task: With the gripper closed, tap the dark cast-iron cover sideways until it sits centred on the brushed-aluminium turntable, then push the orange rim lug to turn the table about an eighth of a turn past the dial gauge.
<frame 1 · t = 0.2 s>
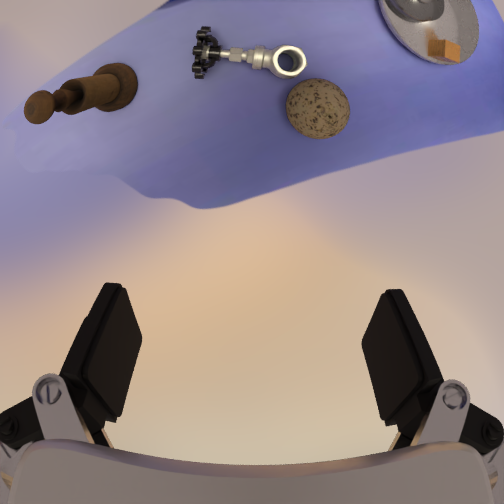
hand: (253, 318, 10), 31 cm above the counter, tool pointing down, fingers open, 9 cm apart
decorative egg: (310, 104, 33), on the counter
turntable: (441, 9, 20), point 4 cm above the counter, hinge at 0.0°, touching cover
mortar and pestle: (116, 86, 31), on the counter
valve: (251, 58, 30), on the counter
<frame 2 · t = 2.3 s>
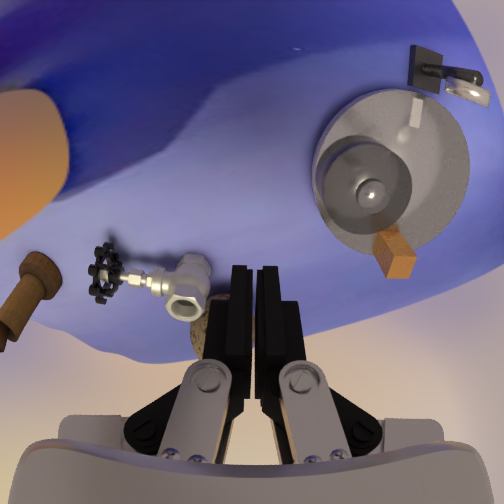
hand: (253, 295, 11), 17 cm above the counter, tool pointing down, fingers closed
decorative egg: (225, 300, 35), on the counter
turntable: (408, 187, 22), point 4 cm above the counter, hinge at 0.0°, touching cover
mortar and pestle: (44, 270, 33), on the counter
cover: (356, 175, 22), point 3 cm above the counter, touching turntable
valve: (160, 260, 32), on the counter
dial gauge: (422, 69, 19), on the counter
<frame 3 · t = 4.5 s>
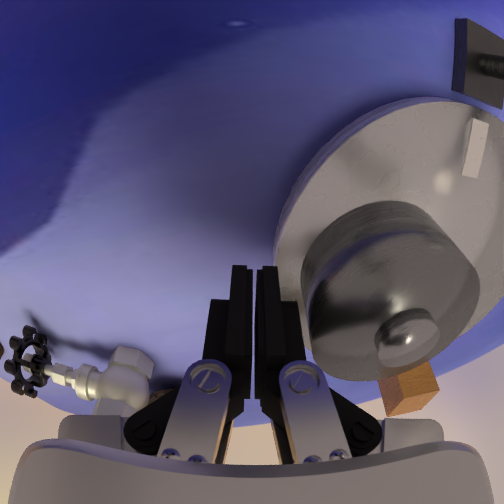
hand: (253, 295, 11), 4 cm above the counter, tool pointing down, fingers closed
turntable: (446, 287, 11), point 4 cm above the counter, hinge at 0.0°, touching cover
cover: (376, 271, 12), point 3 cm above the counter, touching gripper, turntable
valve: (92, 347, 22), on the counter
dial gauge: (475, 63, 9), on the counter
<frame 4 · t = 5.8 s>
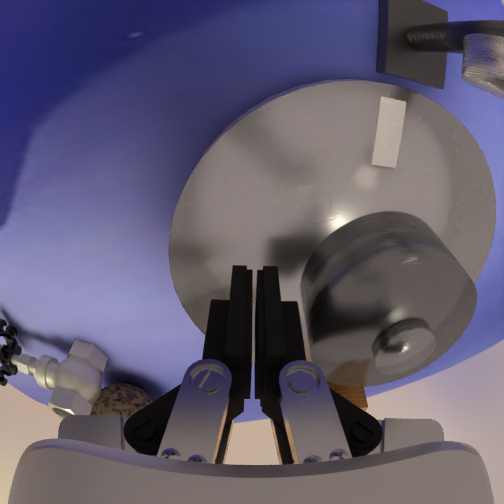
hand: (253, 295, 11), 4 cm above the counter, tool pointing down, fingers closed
decorative egg: (132, 385, 25), on the counter
turntable: (364, 294, 11), point 4 cm above the counter, hinge at 0.2°, touching cover
cover: (375, 279, 13), point 3 cm above the counter, touching turntable
valve: (55, 340, 21), on the counter
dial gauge: (408, 39, 9), on the counter
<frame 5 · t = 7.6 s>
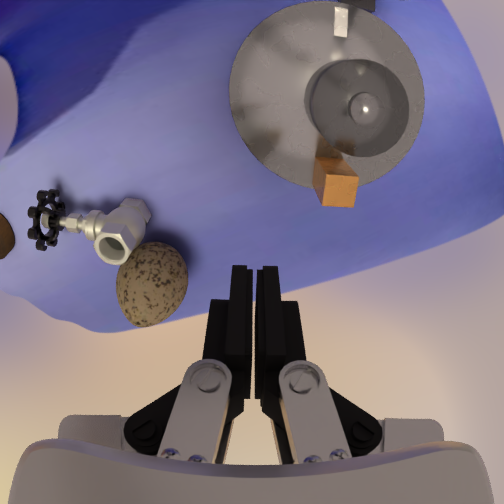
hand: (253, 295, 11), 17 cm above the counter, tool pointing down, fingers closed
decorative egg: (162, 253, 32), on the counter
turntable: (340, 98, 18), point 4 cm above the counter, hinge at 0.2°, touching cover
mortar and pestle: (0, 230, 29), on the counter
cover: (348, 102, 19), point 3 cm above the counter, touching turntable
valve: (102, 207, 28), on the counter
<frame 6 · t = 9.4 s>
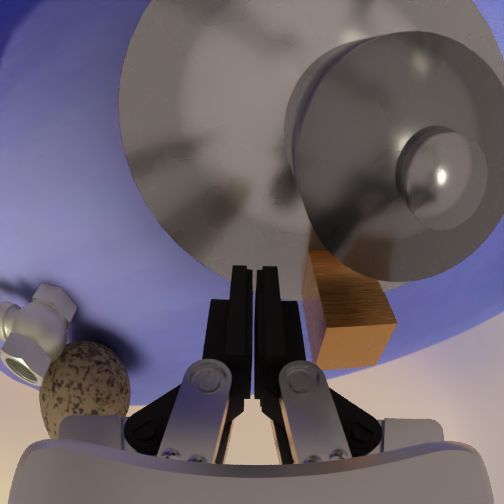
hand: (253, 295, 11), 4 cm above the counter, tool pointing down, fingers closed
decorative egg: (101, 346, 21), on the counter
turntable: (370, 132, 8), point 4 cm above the counter, hinge at 0.3°, touching cover, gripper
cover: (383, 136, 9), point 3 cm above the counter, touching turntable
valve: (23, 289, 18), on the counter
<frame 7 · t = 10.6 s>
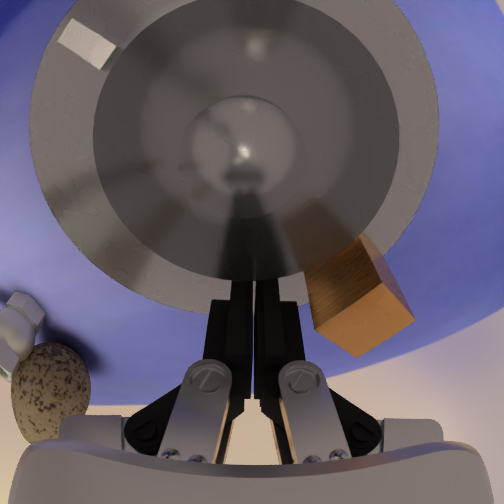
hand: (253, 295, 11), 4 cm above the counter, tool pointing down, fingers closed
decorative egg: (68, 348, 22), on the counter
turntable: (214, 150, 8), point 4 cm above the counter, hinge at 47.2°, touching cover, gripper
cover: (247, 123, 9), point 3 cm above the counter, touching turntable
valve: (2, 296, 19), on the counter
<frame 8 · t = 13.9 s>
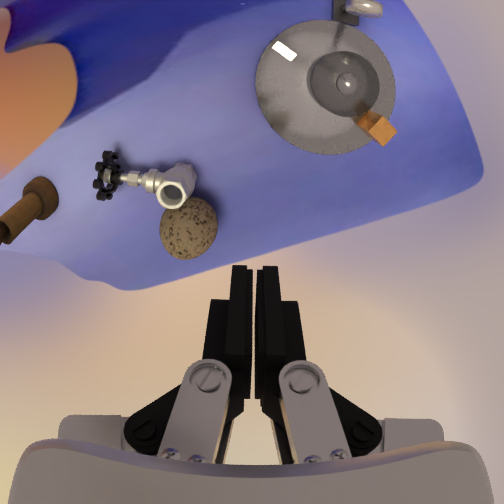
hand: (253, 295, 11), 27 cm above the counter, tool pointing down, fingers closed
decorative egg: (194, 209, 40), on the counter
turntable: (332, 87, 26), point 4 cm above the counter, hinge at 54.6°, touching cover
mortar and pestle: (44, 194, 37), on the counter
cover: (337, 82, 27), point 3 cm above the counter, touching turntable
valve: (155, 170, 36), on the counter
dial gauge: (344, 9, 24), on the counter
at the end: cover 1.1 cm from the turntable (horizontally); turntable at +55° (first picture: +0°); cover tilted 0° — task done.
